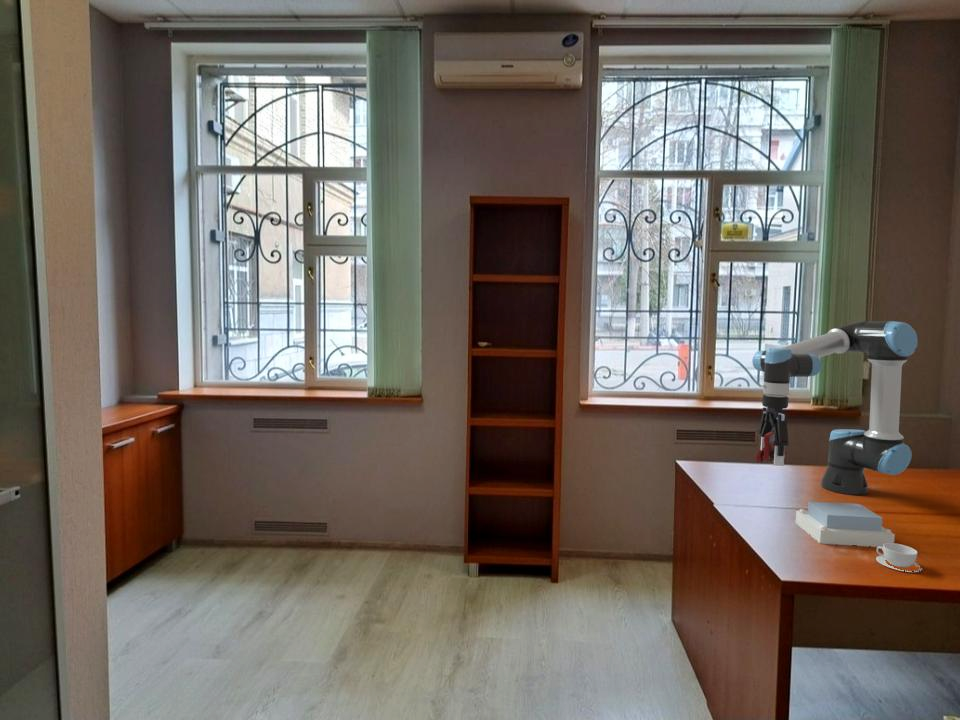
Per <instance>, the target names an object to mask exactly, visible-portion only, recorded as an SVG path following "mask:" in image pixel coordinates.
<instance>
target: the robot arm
mask: <svg viewBox="0 0 960 720" xmlns="http://www.w3.org/2000/svg"><path fill="white" fill-rule="evenodd" d="M917 348H918V336H917V332H916V330H915V329H914V328H913V327H912V325H910V324H908V323H907V322H903V321H893V320H891V321H888V320H887V321H884V320H882V321H880V320H879V321H876V320H874V321H873V320H862V321H861V320H860V321H855V322H852V323H848V324H844V325H840V326H838V327H835V328H831V329H830V330H828V332H827V333H824V334H822V335H818V336H815V337H811V338H809V339H808V338H807V339H805V340H802V341H799V342H796V343H792V344H789V345H786V346H783V347H780V348H779V347H778V348H777V347H771V348H770V347H769V348H767V349H766V350H765V349H764V350H758V351H756V352H755V353H754V355H753V356H752V367H753V368H754V369H755V370H757V371H758V372H763V373H764V374H763V375H764V376H763V384H761V385H762V386H761V387H762V390H763V391H762V392H763V395H762V406H763V407H762V413H761V420H760V424H759V429H758V434H760V437H761V440H760V450H762V449H763V448H764V435H765V434H767V433H769V432H771V431H772V430H774V433H775V439H776V443H775V444H774V446H775V452H774V462H773V466H780V467H782V466H784V464H785V462H784V451H786V450H785V448H786V447H787V446H789V445H790V444H789V433H788V414H786V413H785V414H784V413H783V410H784V409H787V408H789V397H788V395H790V384H791V381H790V380H791V378H794V377H795V378H796V377H797V378H799V377H802V378H810V377H815V376H817V375H819V373H820V372H821V369H822V361H821V359H820V358H823V357H825V356H826V357H827V356H829V355H832V354H837V355H840V354H845V353H865V354H866V356H867V357H866V359H867V360H868V362H870V363H871V379H870V380H871V382H870V383H871V385H870V399H869V400H870V404H869V405H870V406H869V409H870V410H869V423H868V425H869V426H868V430H863V429H853V428H852V429H847V428H844V429H843V428H841V429H840V428H839V429H833V430H832V431H831V432H830V434H829V435H830V436H829V439H828V454H827V467H826V469H825V472H824V473H823V475H822V477H821V481H820V485H821V487H822V488H824V489H825V490H829V491H832V492H835V493H838V494H843V495H853V496H854V495H855V496H856V495H857V496H859V495H860V496H861V495H862V496H863V495H866V494H868V490H869V487H868V486H869V485H868V483H867V479H866V475H865V471H864V469H868V470H871V471H876V472H878V473H880V474H886V475H889V476H896V475H900V474H901V473H903V472H904V471H906V469H907V467H908V466H909V465H910V464H911V460H912V456H913V455H912V449H911V448H910V446H908V445H907V444H906V443H904V439H905V437H904V436H903V434H901V433H900V429H899V428H900V414H901V412H900V410H901V394H902V393H901V389H902V370H903V369H902V367H903V365H904V364H905V363H906V362H907V361H908V359H909V356H912V355H913V354H914V353H915V352H916V349H917Z"/></svg>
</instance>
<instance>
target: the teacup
mask: <svg viewBox="0 0 960 720" xmlns="http://www.w3.org/2000/svg"><path fill="white" fill-rule="evenodd" d="M879 549H880V550H882V552H883V553H881V552H880V551H879ZM876 554H878V555H879V556H876V558H875V559H876V561H877V563H879V564H880V565H882V566H884V567H887V568H888V569H889V568H890V569H893V570H896V571H900V572H904V570H900V569H897V568H894V567H893V566H890V565H888V564H887V563H886V561H885V560H887V561H888V562H889V563H890V564H892V565H894V566H897V567H903V568H908V567H910V566H911V565H913V564H914V565H915V567H919V570H920V572H922V571H923V568H921V569H920V566H921V565H919V564H918V563H916V561H917V557H918V550H916V549H914V548H913V547H911V546H908V545H904V544H900V543H895V542H894V543H885V544H883V547H881V546H879V547H876ZM919 570H918V571H917V570H916V571H915V570H914V572H912V571H908V570H907V571H906V570H905V573H920V572H919ZM921 570H922V571H921Z"/></svg>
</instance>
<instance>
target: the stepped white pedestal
mask: <svg viewBox="0 0 960 720" xmlns="http://www.w3.org/2000/svg"><path fill="white" fill-rule="evenodd" d="M807 502H808V503H807V504H808V505H807V511H806V509H804V508H800V509H799V510H796V511H795V524H796V525H797V526H798V527H800V528H801V529H802V530H803V531H804V530H805V533H807V534H808V535H809V534H810V535H811V536H810V535H809V536H810V537H811V538H813V539H814V540H815V541H816V540H817V541H816V542H817V543H819V544H820V543H821V544H823V545H836V544H837V545H839V546H852V545H857V547H869V546H871V548H872V547H873V548H877V547H879V546H881V547H883V544H885V543H895V538H896V535H895V533H893V532H892V529H890V528H886V527H884V526H882V525H883V517H882V516H880V515H878V514H877V513H875V512H873V511H871V510H870V509H868V508H867V507H866V506H864V505H862V504H860V503H852V502H851V503H849V502H830V501H815V500H814V501H809V500H808V501H807ZM821 544H820V545H821Z"/></svg>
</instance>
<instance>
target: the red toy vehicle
mask: <svg viewBox="0 0 960 720" xmlns="http://www.w3.org/2000/svg"><path fill="white" fill-rule="evenodd" d="M775 443H776V439H775V433H774V429H772V430H771V432H769V433H767V434H765V435H764V448H763V449H762V450H761V449H758V450H757V451H756V455H755V460H756V461H755V462H757V463H763V462H764V461H766V462H772V461H773V463H774V452H775V446H774V444H775ZM786 460H787V451H786V450H784V463H785V462H786Z"/></svg>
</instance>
